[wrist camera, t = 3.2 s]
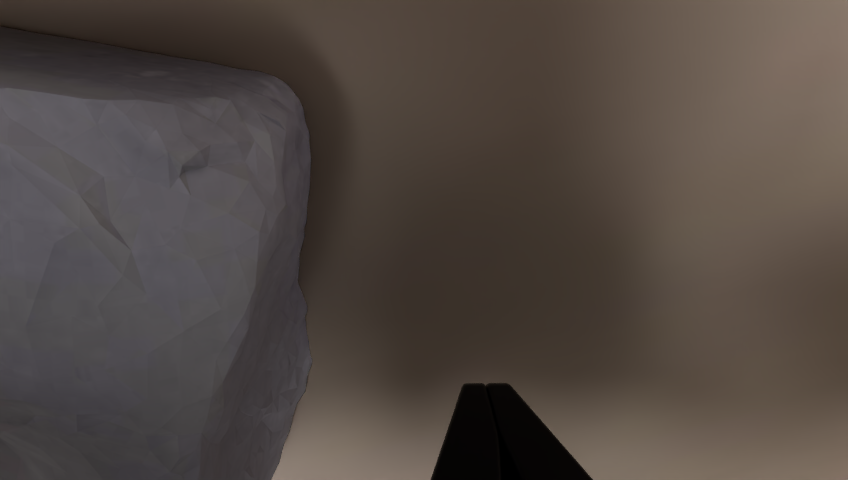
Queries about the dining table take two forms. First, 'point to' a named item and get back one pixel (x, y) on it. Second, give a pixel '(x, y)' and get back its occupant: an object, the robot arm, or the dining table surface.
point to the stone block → (147, 264)
